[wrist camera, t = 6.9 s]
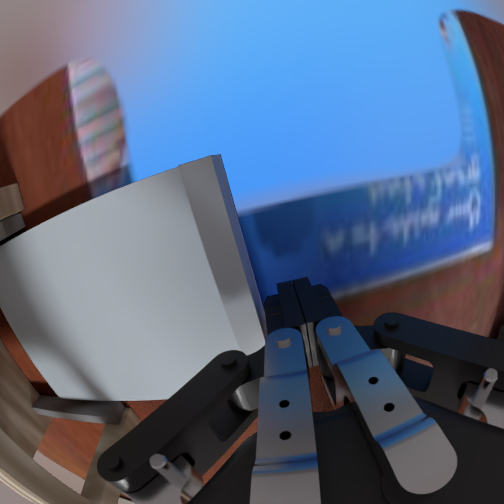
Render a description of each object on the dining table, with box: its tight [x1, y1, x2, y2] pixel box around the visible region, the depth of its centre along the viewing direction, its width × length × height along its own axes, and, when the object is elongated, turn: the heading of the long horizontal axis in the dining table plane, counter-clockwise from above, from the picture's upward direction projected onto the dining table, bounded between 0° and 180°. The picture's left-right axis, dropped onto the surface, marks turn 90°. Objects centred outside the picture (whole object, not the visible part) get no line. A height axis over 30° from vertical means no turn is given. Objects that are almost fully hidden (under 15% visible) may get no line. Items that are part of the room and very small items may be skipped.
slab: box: [0, 154, 268, 401], centre depth 14 cm, size 20×14×4 cm
